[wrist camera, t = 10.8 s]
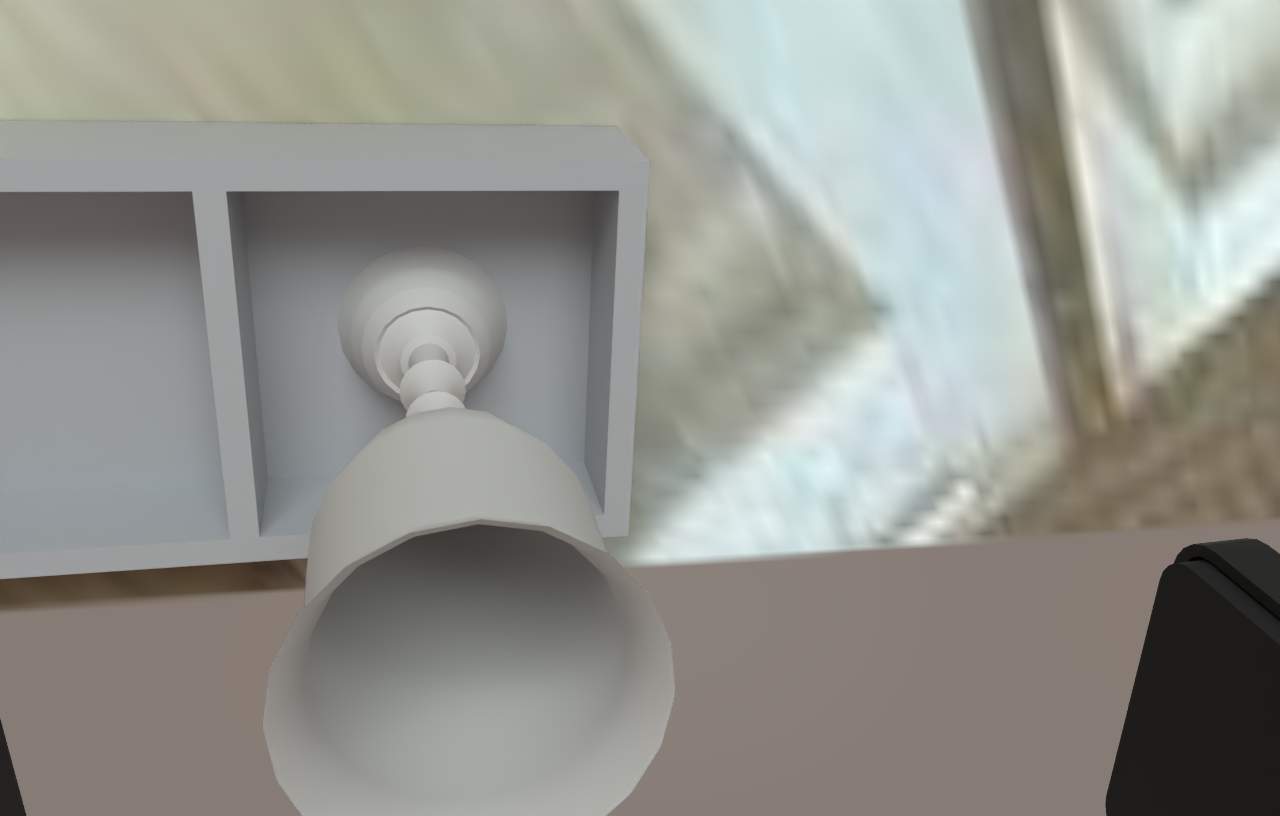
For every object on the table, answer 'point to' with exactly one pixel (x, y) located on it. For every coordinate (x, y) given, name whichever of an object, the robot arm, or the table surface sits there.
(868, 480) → the table surface
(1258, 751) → the robot arm
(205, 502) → the holder
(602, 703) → the chalice
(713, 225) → the table surface
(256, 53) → the table surface
